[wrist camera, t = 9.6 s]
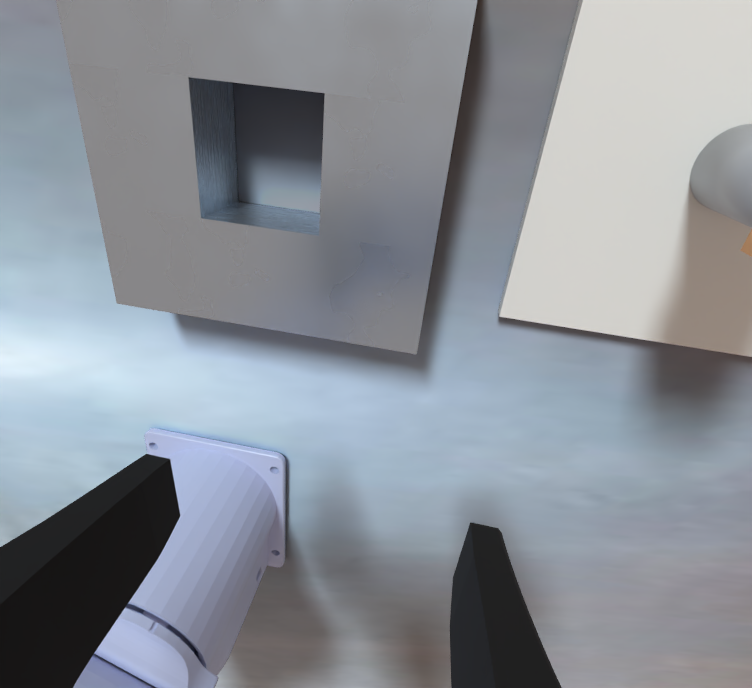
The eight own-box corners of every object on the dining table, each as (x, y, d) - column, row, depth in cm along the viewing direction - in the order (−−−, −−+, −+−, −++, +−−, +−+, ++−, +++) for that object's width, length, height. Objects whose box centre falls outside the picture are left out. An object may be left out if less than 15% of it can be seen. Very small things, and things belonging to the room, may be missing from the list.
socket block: (422, 320, 19) (416, 354, 16) (160, 277, 20) (116, 303, 18) (483, -39, 13) (489, -74, 11) (111, -72, 14) (33, -111, 12)
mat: (809, 359, 17) (820, 368, 17) (498, 310, 18) (499, 316, 18) (1080, -38, 11) (1110, -45, 11) (599, -76, 12) (605, -84, 12)
